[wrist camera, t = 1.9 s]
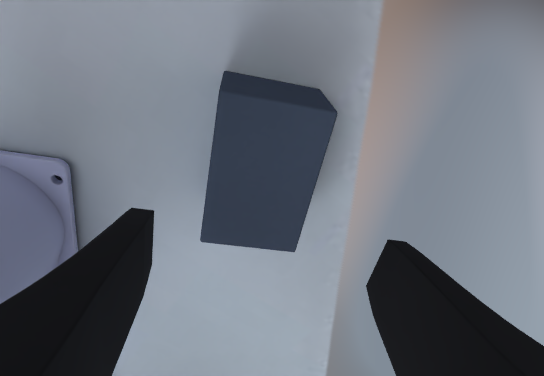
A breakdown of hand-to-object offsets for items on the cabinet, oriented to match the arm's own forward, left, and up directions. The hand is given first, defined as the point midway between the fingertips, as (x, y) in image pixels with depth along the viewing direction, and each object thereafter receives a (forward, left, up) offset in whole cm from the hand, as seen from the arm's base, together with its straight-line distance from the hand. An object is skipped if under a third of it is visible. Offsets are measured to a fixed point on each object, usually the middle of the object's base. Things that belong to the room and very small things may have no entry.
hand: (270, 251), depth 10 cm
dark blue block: (0, 0, -8) cm, 8 cm away
